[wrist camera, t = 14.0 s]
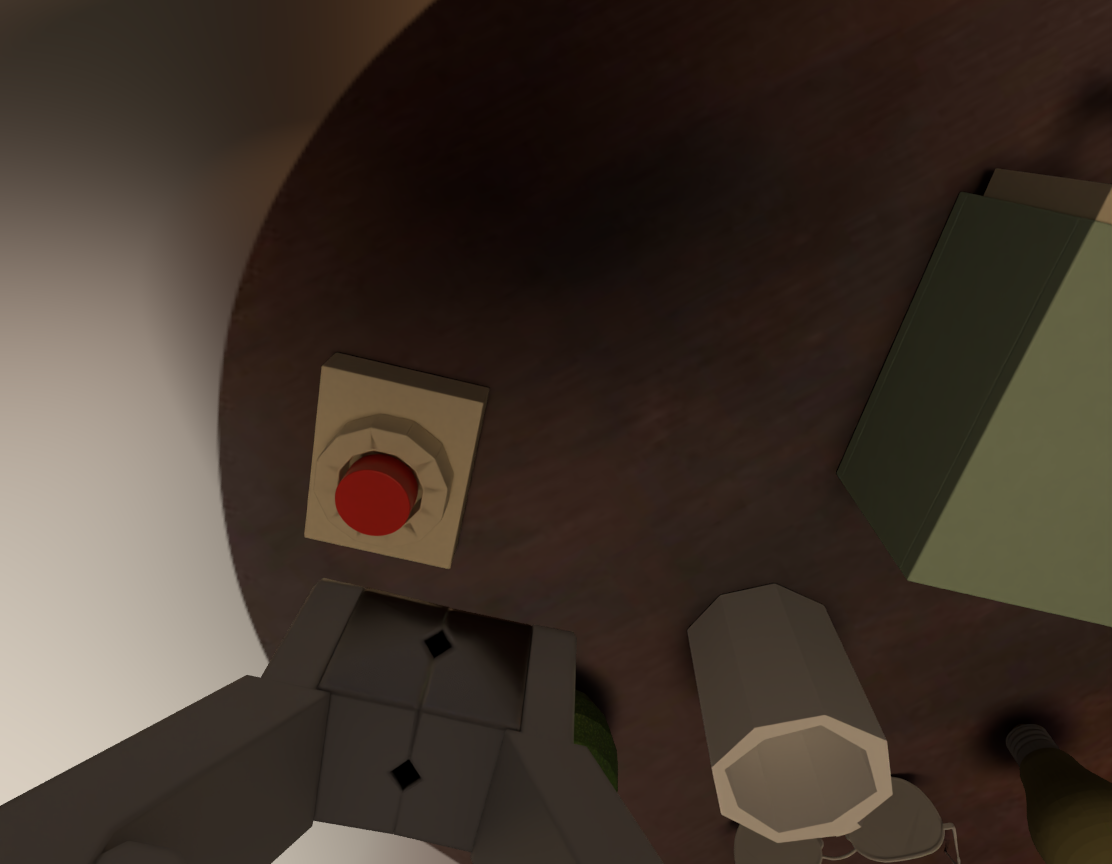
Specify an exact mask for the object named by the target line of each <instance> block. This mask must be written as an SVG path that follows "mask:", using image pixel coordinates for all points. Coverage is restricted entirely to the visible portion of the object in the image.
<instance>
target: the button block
mask: <svg viewBox="0 0 1112 864" xmlns="http://www.w3.org/2000/svg"><path fill="white" fill-rule="evenodd" d="M488 394H489V388H487V387H483V386H479V385H474V384H470V383H466V382H462V381H457V380H453V379H449V378H444V377H440V376H436V375H432V374H427V373H423V372H419V371H414V370H410V369H406V368H402V367H397V366H393V365H389V364H384V363H380V362H376V361H372V360H367V359H363V358H359V357H355V356H350V355H346V354H342V353H335V354H334V355H333V356H332V357H331V358H330V359H329V360H328V361H327V362H325V363H324V364H323V365H322V368H321V378H320V388H319V398H318V407H317V417H316V427H315V437H314V446H313V456H312V466H311V476H310V485H309V495H308V505H307V515H306V525H305V534H304V537H306V538H310V539H315V540H320V541H324V542H329V543H333V544H338V545H342V546H347V547H351V548H356V549H360V550H365V551H369V552H374V553H378V554H383V555H387V556H392V557H396V558H401V559H405V560H410V561H414V562H419V563H424V564H428V565H433V566H437V567H442V568H446V569H450V567H451V564H452V561H453V558H454V555H455V552H456V548H457V544H458V539H459V535H460V530H461V525H462V520H463V515H464V510H465V506H466V501H467V496H468V491H469V486H470V481H471V476H472V472H473V467H474V462H475V457H476V452H477V447H478V442H479V438H480V433H481V428H482V423H483V418H484V413H485V409H486V404H487V399H488ZM372 454H383V455H388V456H391V457H394V458H396V459H398V460H400V461H401V462H403V463H404V464H405V465H406V466H407V467H408V468H409V469H410V470H411V472H412V473H413V475H414V477H415V479H416V482H417V486H418V495H417V499H416V502H415V504H414V506H413V508H412V510H411V513H410V515H409V517H408V519H407V521H406V522H405V524H404V525H403V526H402V527H401V528H400V529H399V530H397V531H395V532H393V533H391V534H388V535H384V536H370V535H366V534H362V533H360V532H358V531H356V530H354V529H352V528H351V527H350V526H348V525H347V524H346V523H345V522H344V521H343V519H342V518H341V517H340V515H339V513H338V511H337V509H336V505H335V492H336V489H337V486H338V484H339V483H340V481H341V480H342V478H343V477H344V475H345V474H346V473H347V471H348V470H349V468H350V467H351V466H352V464H353V463H354V462H355V461H357V460H358V459H360V458H362V457H364V456H367V455H372Z"/></svg>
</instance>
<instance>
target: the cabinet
mask: <svg viewBox="0 0 1112 864" xmlns="http://www.w3.org/2000/svg"><path fill="white" fill-rule="evenodd" d="M837 475H838V477H839V478H840V480H841V482H842V483H843V485H844V486H845V488H846V489H847V491H848V492H849V494H850V495H851V497H852V498H853V500H854V501H855V503H856V504H857V506H858V507H859V509H860V510H861V512H862V513H863V515H864V516H865V518H866V519H867V521H868V522H869V524H870V525H871V527H872V528H873V530H874V531H875V533H876V534H877V536H878V537H879V539H880V540H881V542H882V543H883V545H884V546H885V548H886V549H887V551H888V552H889V554H890V555H891V557H892V558H893V560H894V561H895V563H896V564H897V566H898V567H899V568H900V569H901V572H902V573H903V575H904V576H905V578H906V579H907V580H908V581H912V582H916V583H921V584H925V585H930V586H934V587H938V588H943V589H947V590H952V591H956V592H960V593H965V594H969V595H974V596H978V597H982V598H987V599H991V600H996V601H1000V602H1005V603H1009V604H1013V605H1018V606H1022V607H1027V608H1031V609H1035V610H1040V611H1044V612H1049V613H1053V614H1057V615H1062V616H1066V617H1071V618H1075V619H1079V620H1084V621H1088V622H1093V623H1097V624H1101V625H1106V626H1110V627H1112V225H1111V224H1107V223H1104V222H1100V221H1096V220H1091V219H1086V218H1082V217H1077V216H1073V215H1068V214H1063V213H1059V212H1054V211H1049V210H1045V209H1040V208H1036V207H1031V206H1026V205H1022V204H1017V203H1012V202H1008V201H1003V200H999V199H994V198H989V197H985V196H980V195H975V194H971V193H966V192H960V194H959V196H958V198H957V201H956V203H955V205H954V207H953V210H952V212H951V214H950V216H949V219H948V221H947V223H946V226H945V228H944V230H943V232H942V235H941V237H940V239H939V241H938V244H937V246H936V248H935V251H934V253H933V255H932V257H931V260H930V262H929V264H928V266H927V269H926V271H925V273H924V275H923V278H922V280H921V282H920V285H919V287H918V289H917V291H916V294H915V296H914V298H913V300H912V303H911V305H910V307H909V310H908V312H907V314H906V316H905V319H904V321H903V323H902V325H901V328H900V330H899V332H898V335H897V337H896V339H895V341H894V344H893V346H892V348H891V350H890V353H889V355H888V357H887V359H886V362H885V364H884V366H883V369H882V371H881V373H880V375H879V378H878V380H877V382H876V384H875V387H874V389H873V391H872V394H871V396H870V398H869V400H868V403H867V405H866V407H865V409H864V412H863V414H862V416H861V418H860V421H859V423H858V425H857V428H856V430H855V432H854V434H853V437H852V439H851V441H850V443H849V446H848V448H847V450H846V453H845V455H844V457H843V459H842V462H841V464H840V466H839V468H838V471H837Z"/></svg>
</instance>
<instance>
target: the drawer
mask: <svg viewBox="0 0 1112 864" xmlns="http://www.w3.org/2000/svg"><path fill="white" fill-rule="evenodd" d="M984 196H985V197H989V198H994V199H999V200H1003V201H1008V202H1012V203H1017V204H1022V205H1026V206H1031V207H1036V208H1040V209H1045V210H1049V211H1054V212H1059V213H1063V214H1068V215H1073V216H1077V217H1082V218H1086V219H1091V220H1096V221H1100V222H1104V223H1107V224H1111V225H1112V184H1106V183H1099V182H1091V181H1084V180H1077V179H1070V178H1063V177H1056V176H1048V175H1041V174H1034V173H1027V172H1020V171H1013V170H1005V169H998V168H997V169H995V171H994V173H993V176H992V178H991V180H990V182H989V184H988V187H987V189H986V191H985V193H984Z"/></svg>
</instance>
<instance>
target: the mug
mask: <svg viewBox="0 0 1112 864" xmlns="http://www.w3.org/2000/svg"><path fill="white" fill-rule="evenodd" d="M687 633H688V638H689V644H690V649H691V655H692V661H693V666H694V672H695V677H696V683H697V689H698V694H699V700H700V705H701V711H702V717H703V722H704V728H705V733H706V739H707V745H708V750H709V756H710V761H711V767H712V772H713V777H714V781H715V786H716V791H717V796H718V801H719V805H720V810H721V814H722V815H724V816H726V817H728V818H730V819H731V820H733V821H735V822H737V823H739V824H741V825H743V826H745V827H747V828H749V829H751V830H753V831H755V832H757V833H759V834H761V835H763V836H765V837H766V838H768V839H770V840H772V841H774V842H776V843H782V842H790V841H798V840H806V839H814V838H822V837H830V836H836V837H838V836H841V835H845V834H848V833H851V832H853V831H855V830H857V829H859V828H860V827H862V824H863V821H864V818H865V816H867V815H868V814H869V813H870V812H872V811H873V810H874V809H875V808H877V807H878V806H879V805H880V804H882V803H883V802H884V801H885V800H887V799H888V798H889V797H890V796H892V795H893V793H892V783H891V774H890V765H889V756H888V747H887V740H886V738H885V736H884V734H883V732H882V729H881V727H880V725H879V723H878V721H877V719H876V717H875V714H874V712H873V710H872V708H871V706H870V704H869V701H868V699H867V697H866V695H865V693H864V691H863V689H862V686H861V684H860V682H859V680H858V678H857V676H856V673H855V671H854V669H853V667H852V665H851V663H850V661H849V658H848V656H847V654H846V652H845V650H844V648H843V645H842V643H841V641H840V639H839V637H838V635H837V633H836V630H835V628H834V626H833V624H832V622H831V620H830V617H829V615H828V613H827V611H826V609H825V607H824V605H822V604H820V603H818V602H815V601H813V600H811V599H809V598H806V597H804V596H802V595H800V594H798V593H795V592H793V591H791V590H789V589H786V588H784V587H782V586H780V585H777V584H775V583H774V584H769V585H765V586H760V587H756V588H751V589H746V590H742V591H737V592H733V593H728V594H723V595H720V596H719V597H718V598H717V599H716V600H715V601H714V602H713V603H712V604H711V605H710V606H709V607H708V608H707V610H706V611H705V612H704V613H703V614H702V615H701V616H700V617H699V618H698V619H697V620H696V621H695V622H694V623H693V624H692V625H691V626H690V627H689V628H688V630H687Z"/></svg>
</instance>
